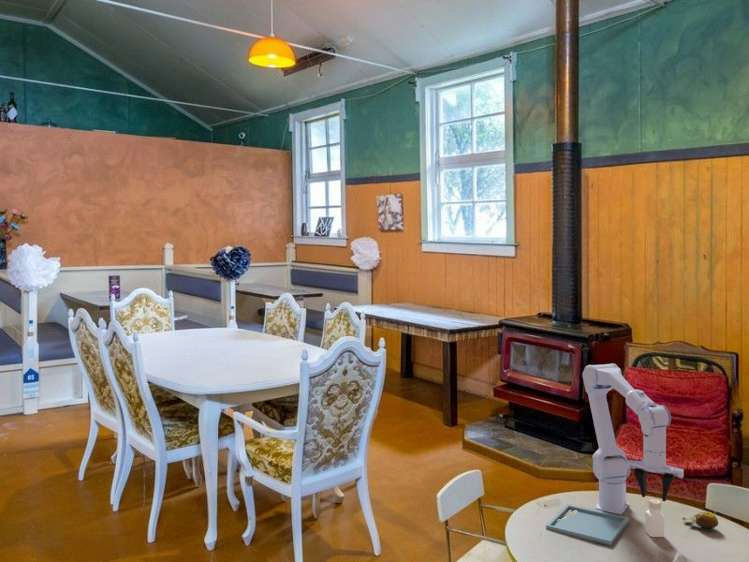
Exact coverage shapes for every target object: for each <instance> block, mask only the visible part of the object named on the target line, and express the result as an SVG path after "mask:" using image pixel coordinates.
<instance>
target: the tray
mask: <svg viewBox="0 0 749 562" xmlns="http://www.w3.org/2000/svg"><path fill="white" fill-rule="evenodd" d="M572 509H573V510H577V511H578V512H577V513H576V514H575V515H569V516H568V517H567V519H566V518H565V519H561V520H558V519H559V518H561V517H563V516H564V515H565V514H566V512H567V511H568V510H572ZM557 520H558V521H559V522H558V521H557ZM628 524H629V517H626V516H623V515H622V516H621V515H618V514H614V513H613V514H612V513H609V512H605V511H604V512H603V511H599V510H596V509H595V510H594V509H590V508H586V507H585V508H584V507H582V506H581V507H580V506H577V505H576V506H575V505H571V504H566V505H565V506H564V507H563V508H562V509H561V510H560V511H559V512H558V513H557V514H556V515H555V516H554V517H552V519H551V520H550V521H549V522H548V523H546V524H545V529H546V530H549V529H550V530H549V531H554V532H557V533H560V534H563V535H567V536H571V537H574V538H577V539H581V540H585V541H588V542H591V543H593V544H594V543H595V544H597V545H598V544H599V545H603V546H606V547H612V546H613V545H614V543H615V542H617V540H618V538H619V537H620V535H622V533H623V532H624V530H625V528H626V527H627V526H628Z"/></svg>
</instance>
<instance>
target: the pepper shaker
mask: <svg viewBox="0 0 749 562" xmlns="http://www.w3.org/2000/svg"><path fill="white" fill-rule="evenodd" d="M661 511H662V501H660V500H658V499H655V498H652V499H648V510H645V514H644V515H645V524H644V525H645V528H644V529H645V533H646V534H647V535H648V536H649V537H651V538H664V537H665V515H664V514H663V513H662V512H661Z"/></svg>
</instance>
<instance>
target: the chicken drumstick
mask: <svg viewBox="0 0 749 562" xmlns="http://www.w3.org/2000/svg"><path fill="white" fill-rule="evenodd" d="M682 520H683V522H686V523H692V522H695V523H697V524H698V525H699V527H701V528H703V529H706V530H712V529H714V528H716V527H717V526H718V525H719V520H718V518H717V516H716V515H715V514H714V513H712V512H711V511H700V512H698V513H696V514H695V515H693V516H690V517H688V518H686V517H682Z"/></svg>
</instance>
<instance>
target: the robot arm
mask: <svg viewBox="0 0 749 562" xmlns="http://www.w3.org/2000/svg"><path fill="white" fill-rule="evenodd" d="M622 374H623V373H622V370H621V368H620V367H619V366H618V365H617V364H616V363H613V362H612V363H606V364H588V365H586V366H585V367H584V369H583V371H582V375H581V377H582V379H583V386H584V389H585V392H586V393H587V395H588V401H589V405H590V411H591V415H592V420H593V426H594V430H595V435H596V440H597V444H598V449H597V450H596V451H595V452H594V453H593V454H592V455H591V456H592V472H593V474H594V476H595V477H596V479H598V503H597V504H596V505H594V506H595V507H594V509H595V510H597V511H599V510H600V511H601V512H603V511H604V512H606V513H610V514H612V513H613V514H615V515H622V514H624V512H625V511H626V510H627V508H628V507H629V506H630V503H629V502H627V485H626V484H627V483H626V481H627V478H628V477H629V476H630V474H631V469H633V470H634V471H633V475H634V477H635V479H636V481H637V484H638V486H639V489H640V492H641V493H640V494H641V497H642V498H645V497H646V496H647V473H649V472H650V473H655V474H660V475H662V477H661V480H662V481H661V482H662V496H661V497H662V501H661V502H666V501H667V499H668V494H669V490H670V488H671V484H672V483H673V481H674V478H675V477H677V478H679V479H683V478H684V472H685V471H684V469H683V468H679V467H675V466H671V465H667V464H666V463H667V460H666V459H667V457H666V456H667V427H669V425H671V421H672V416H671V412H670V410H669V409H668V408H667V406H665V405H663V404H662V405H659V404H658V403H656V402H654V401H653V400H652V399H651V398H650V397H649V396H647V394H645V392H644V390H641V389H635V388H633V386H632V385H631V384H630V383H629V382H628V381H627V380H626V378H625V377H624V376H623V375H622ZM612 389H613V390H615V391H616V392H617V393H619V394H620V395H621V396H623V397H624V398H625V403H626V406H628V407H629V408H630V409H631V410H632V411H633V412H634V413H635V414H636V415H637V416H638V417H637V418H638V421H639V424H640V426H641V433H642V434H643V439H642V440H643V445H642V447H643V451H642V452H643V455H642V457H643V459H642V460H631V459H627V455H626V452H625V450H622V449H621V448H620V447H619V446H618V445H617V442H616V437H615V432H614V427H613V424H612V423H613V422H612V418H611V414H610V410H609V404H608V401H607V394H608V393H609V391H611V390H612Z"/></svg>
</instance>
